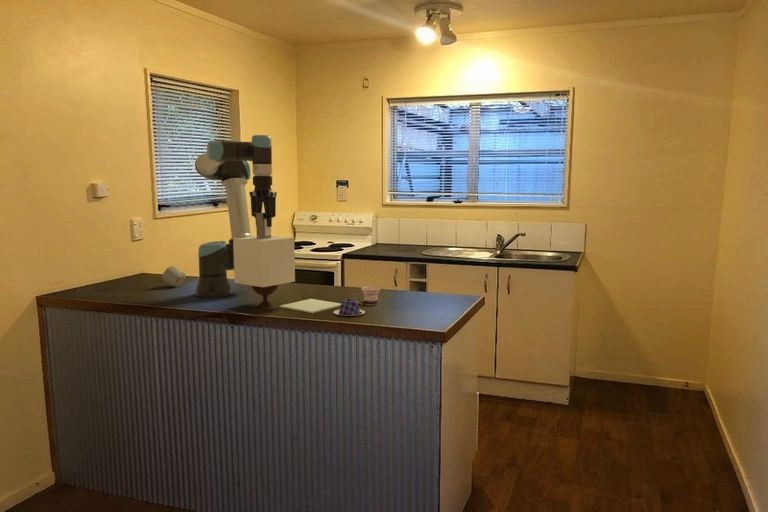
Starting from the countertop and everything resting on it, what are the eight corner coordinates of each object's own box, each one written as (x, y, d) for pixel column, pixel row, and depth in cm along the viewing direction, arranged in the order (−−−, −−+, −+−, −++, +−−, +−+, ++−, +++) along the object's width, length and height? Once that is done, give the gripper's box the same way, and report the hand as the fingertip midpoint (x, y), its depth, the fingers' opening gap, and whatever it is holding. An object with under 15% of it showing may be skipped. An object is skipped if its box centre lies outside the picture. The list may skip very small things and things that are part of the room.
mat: (279, 307, 236) (279, 305, 236) (311, 300, 251) (311, 298, 251) (312, 313, 226) (312, 311, 226) (343, 305, 240) (343, 304, 240)
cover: (234, 282, 237) (232, 213, 234) (266, 277, 250) (265, 211, 247) (263, 287, 227) (261, 214, 223) (294, 281, 240) (293, 212, 237)
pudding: (371, 314, 225) (371, 301, 224) (345, 319, 218) (344, 304, 217) (353, 309, 234) (353, 296, 234) (327, 313, 227) (327, 299, 227)
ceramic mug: (174, 291, 280) (176, 279, 275) (160, 281, 281) (162, 270, 276) (189, 280, 288) (192, 268, 283) (176, 270, 289) (179, 259, 285)
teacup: (352, 301, 249) (352, 286, 248) (379, 299, 254) (379, 284, 253) (363, 307, 238) (363, 291, 237) (390, 304, 243) (390, 289, 242)
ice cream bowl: (273, 308, 234) (272, 270, 232) (246, 307, 236) (245, 270, 234) (283, 303, 244) (282, 267, 242) (257, 302, 246) (256, 266, 244)
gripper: (240, 175, 236) (242, 234, 238) (270, 175, 225) (271, 236, 228) (255, 175, 241) (256, 233, 244) (284, 175, 231) (285, 235, 234)
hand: (263, 234), depth 236 cm, fingers closed on cover, 4 cm apart
